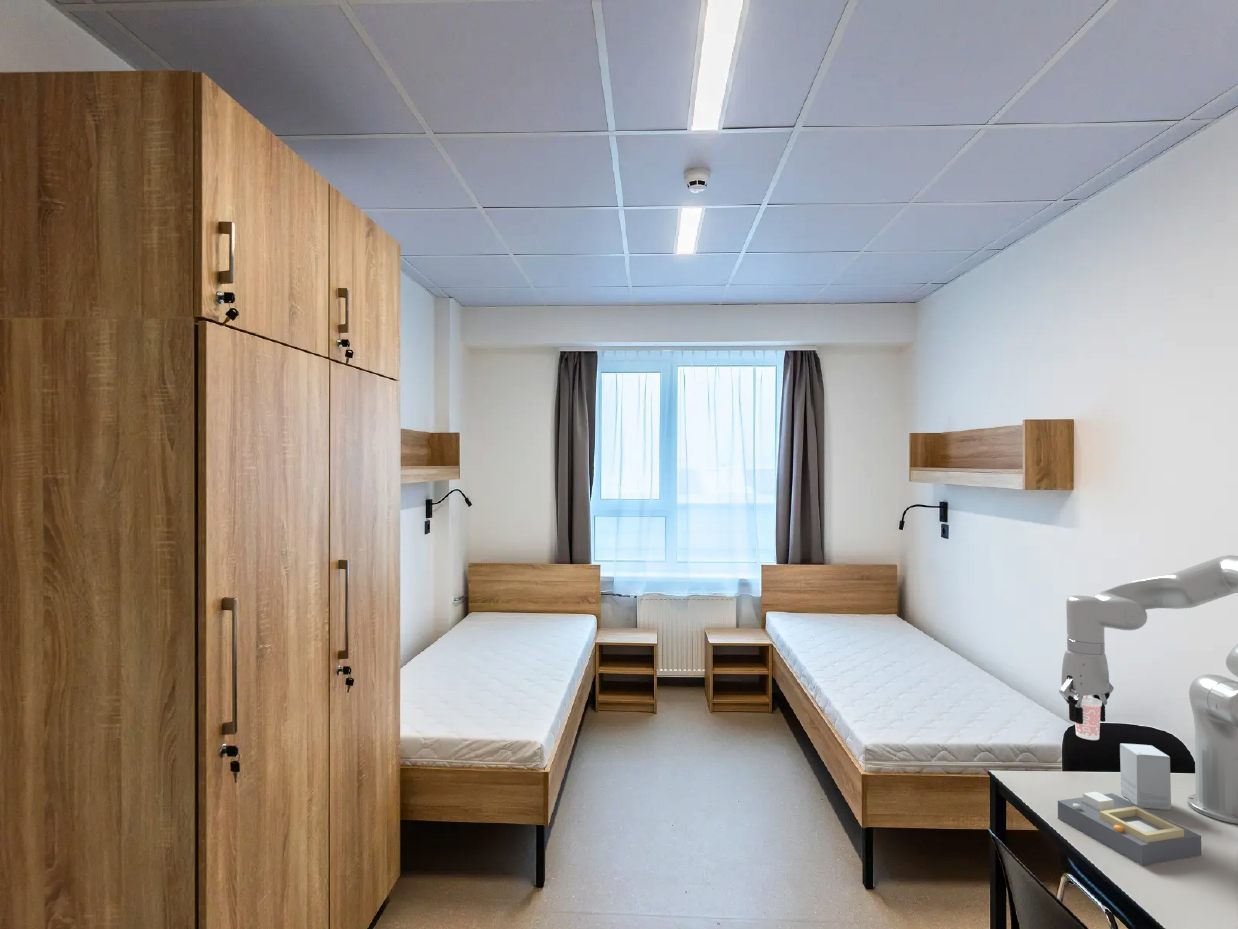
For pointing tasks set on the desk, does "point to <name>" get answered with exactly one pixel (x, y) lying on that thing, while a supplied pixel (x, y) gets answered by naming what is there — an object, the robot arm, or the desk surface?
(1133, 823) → the block
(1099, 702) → the beverage cup
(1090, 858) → the desk surface
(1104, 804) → the block
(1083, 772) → the desk surface
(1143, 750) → the supplement box
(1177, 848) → the gray panel board
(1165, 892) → the desk surface
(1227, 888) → the desk surface
